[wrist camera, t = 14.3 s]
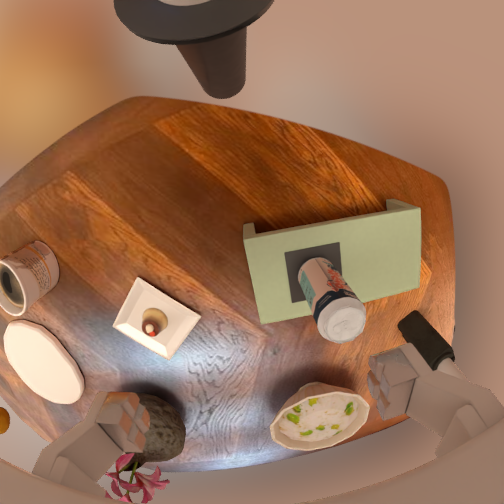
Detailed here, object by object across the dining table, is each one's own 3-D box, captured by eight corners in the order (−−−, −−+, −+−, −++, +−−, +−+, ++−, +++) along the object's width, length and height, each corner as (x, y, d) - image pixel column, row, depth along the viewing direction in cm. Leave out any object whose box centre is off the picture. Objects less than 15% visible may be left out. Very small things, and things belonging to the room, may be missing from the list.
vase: (200, 424, 56) (187, 539, 27) (137, 427, 57) (108, 526, 28) (169, 374, 50) (133, 511, 22) (101, 381, 51) (50, 489, 23)
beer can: (339, 279, 36) (375, 330, 24) (307, 297, 36) (331, 355, 25) (324, 249, 34) (360, 293, 23) (290, 267, 35) (311, 319, 24)
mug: (59, 299, 45) (28, 328, 34) (17, 278, 43) (-15, 301, 33) (61, 249, 42) (24, 273, 31) (17, 230, 40) (-20, 248, 30)
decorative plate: (26, 314, 41) (98, 405, 49) (37, 305, 45) (104, 393, 53) (-14, 339, 44) (43, 412, 52) (-6, 331, 48) (49, 402, 55)
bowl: (274, 357, 49) (280, 396, 40) (369, 358, 51) (387, 392, 41) (259, 420, 55) (262, 455, 46) (340, 418, 57) (351, 450, 47)
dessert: (170, 357, 49) (164, 373, 44) (114, 323, 46) (104, 337, 42) (202, 312, 46) (198, 328, 41) (139, 273, 44) (129, 286, 39)
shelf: (243, 224, 42) (243, 240, 34) (393, 198, 41) (421, 208, 33) (258, 297, 45) (261, 325, 38) (396, 268, 44) (420, 288, 37)
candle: (423, 324, 49) (492, 405, 25) (404, 339, 50) (466, 427, 26) (416, 308, 47) (491, 392, 24) (396, 324, 48) (463, 416, 25)
